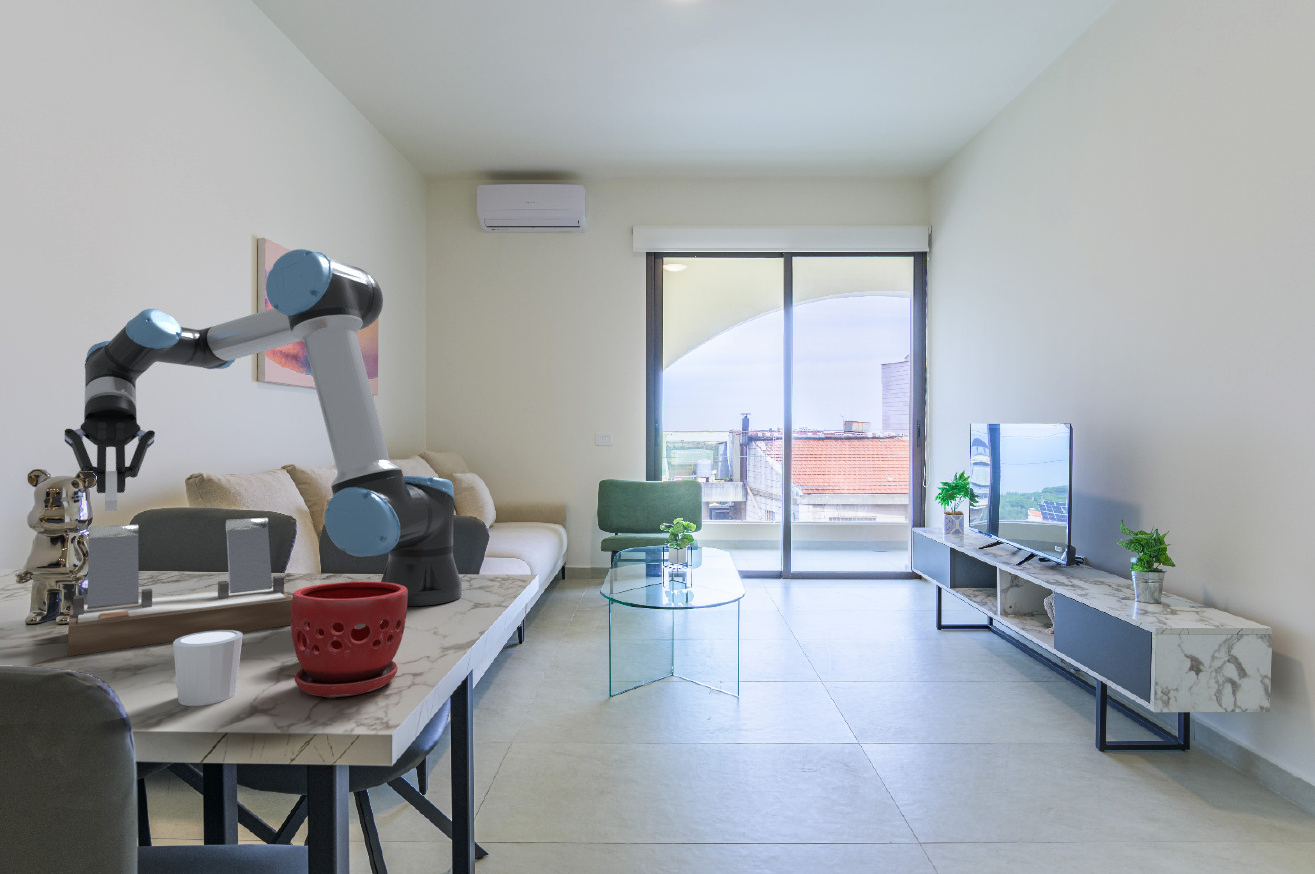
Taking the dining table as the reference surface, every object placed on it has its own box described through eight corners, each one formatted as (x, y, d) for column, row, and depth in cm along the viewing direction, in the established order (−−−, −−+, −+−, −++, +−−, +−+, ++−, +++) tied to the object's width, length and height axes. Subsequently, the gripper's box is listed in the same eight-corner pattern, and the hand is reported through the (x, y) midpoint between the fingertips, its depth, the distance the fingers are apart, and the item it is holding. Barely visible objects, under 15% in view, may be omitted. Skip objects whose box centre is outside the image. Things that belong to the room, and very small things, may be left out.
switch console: (69, 633, 106) (70, 589, 106) (275, 607, 123) (276, 569, 123) (67, 656, 95) (68, 607, 95) (294, 624, 113) (294, 583, 113)
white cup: (171, 693, 82) (172, 634, 82) (239, 682, 86) (240, 625, 86) (171, 712, 76) (173, 648, 76) (244, 699, 80) (245, 639, 80)
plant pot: (399, 699, 81) (401, 597, 81) (275, 708, 78) (277, 601, 78) (410, 664, 94) (412, 575, 94) (304, 670, 91) (306, 579, 91)
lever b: (87, 609, 102) (88, 529, 107) (137, 604, 106) (137, 526, 110) (87, 606, 101) (88, 524, 105) (138, 600, 105) (138, 522, 109)
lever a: (229, 594, 114) (225, 522, 118) (270, 589, 118) (265, 520, 122) (231, 590, 112) (227, 517, 117) (272, 586, 116) (267, 515, 120)
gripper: (153, 423, 134) (157, 517, 121) (64, 420, 126) (59, 522, 113) (155, 394, 130) (160, 489, 117) (64, 390, 122) (59, 491, 109)
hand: (111, 505), depth 115 cm, fingers closed
